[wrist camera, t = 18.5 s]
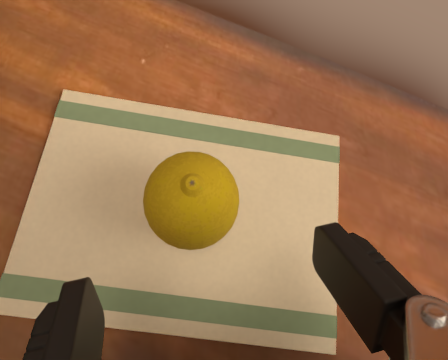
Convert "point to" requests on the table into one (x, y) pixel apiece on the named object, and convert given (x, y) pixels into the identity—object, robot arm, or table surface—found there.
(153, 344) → the table surface
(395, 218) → the table surface
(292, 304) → the napkin
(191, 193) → the lemon
